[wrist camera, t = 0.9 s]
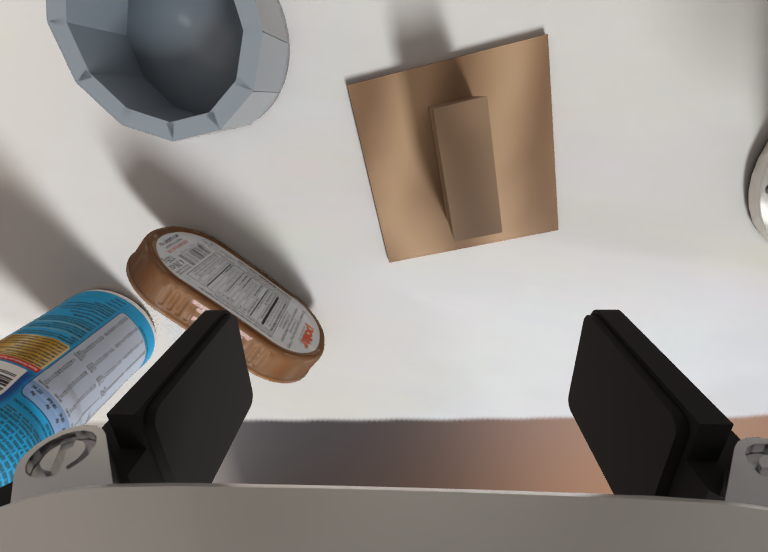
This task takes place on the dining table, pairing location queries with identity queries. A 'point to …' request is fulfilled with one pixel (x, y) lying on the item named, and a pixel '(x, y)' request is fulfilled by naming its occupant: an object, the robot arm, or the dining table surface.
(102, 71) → the bowl
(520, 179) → the lid
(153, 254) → the tin
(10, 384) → the beverage bottle
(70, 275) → the dining table surface
